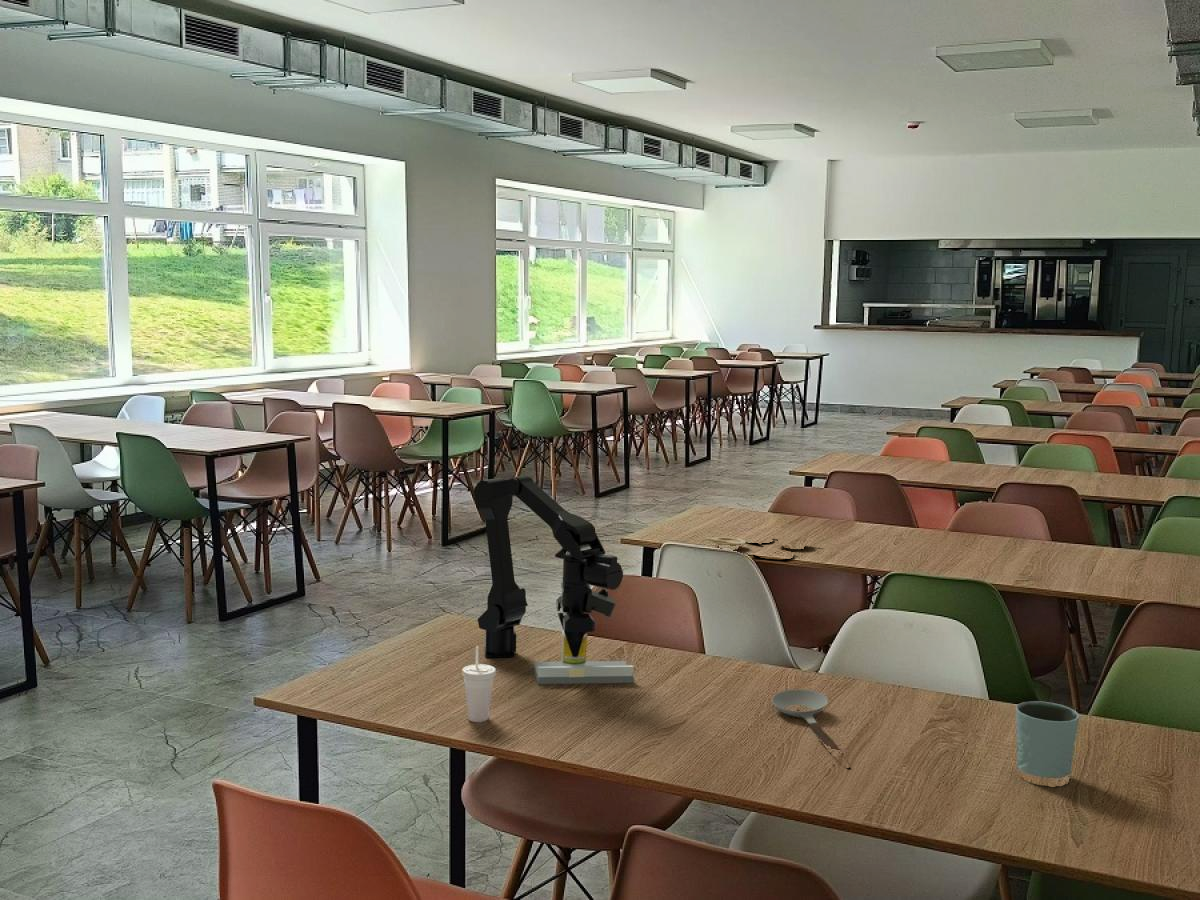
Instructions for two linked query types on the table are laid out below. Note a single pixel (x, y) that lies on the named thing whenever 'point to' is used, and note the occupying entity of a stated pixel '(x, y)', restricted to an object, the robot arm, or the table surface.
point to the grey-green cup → (1045, 738)
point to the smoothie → (478, 689)
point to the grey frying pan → (811, 701)
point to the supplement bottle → (567, 655)
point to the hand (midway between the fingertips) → (573, 652)
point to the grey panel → (584, 672)
